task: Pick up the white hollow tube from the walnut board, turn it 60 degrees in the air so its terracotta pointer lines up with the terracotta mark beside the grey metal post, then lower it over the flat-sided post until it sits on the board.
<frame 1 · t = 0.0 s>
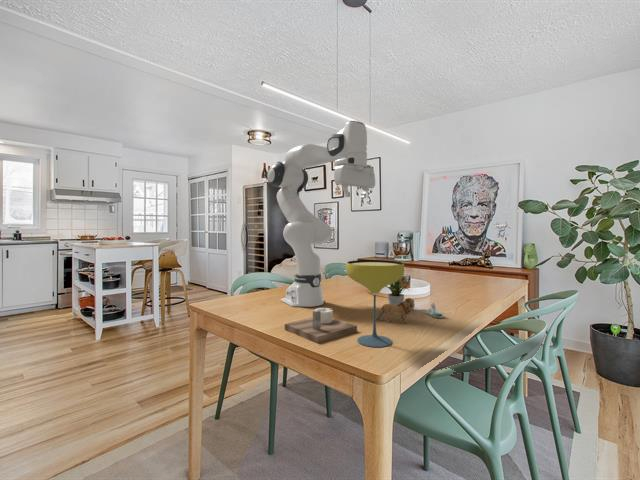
hand: (355, 197, 131), 48 cm above the table, tool pointing down, fingers open, 8 cm apart
cocktail glass: (374, 341, 104), on the table
house plant: (397, 309, 145), on the table
board: (320, 330, 115), on the table
pacifier: (436, 317, 133), on the table
lion figurine: (396, 321, 127), on the table
white hollow tube: (323, 320, 120), point 2 cm above the table, touching board
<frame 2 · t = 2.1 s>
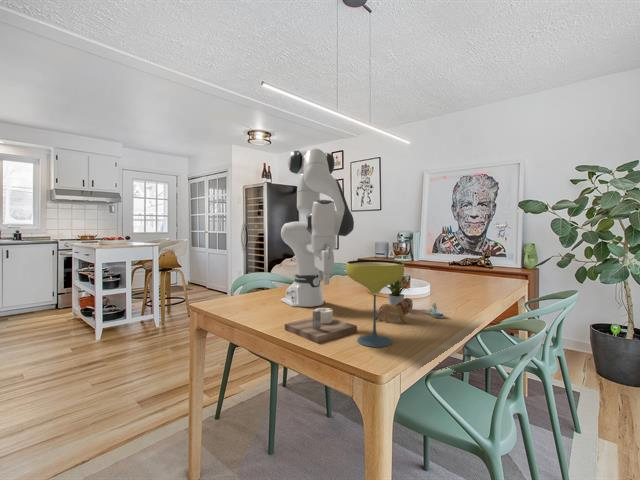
hand: (323, 282, 119), 16 cm above the table, tool pointing down, fingers open, 8 cm apart
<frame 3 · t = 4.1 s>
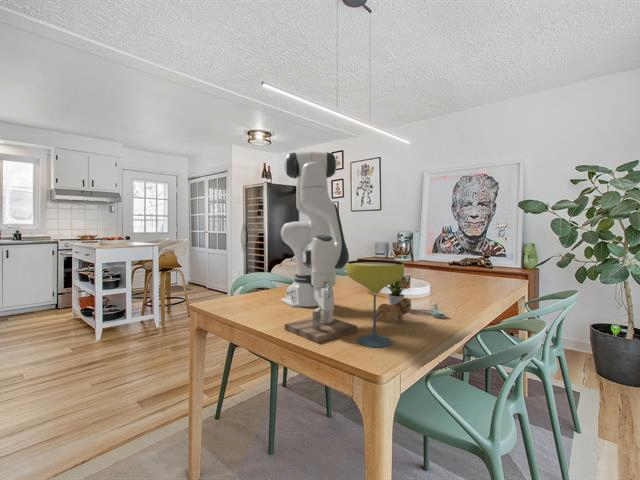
hand: (323, 317, 120), 3 cm above the table, tool pointing down, fingers closed on white hollow tube, 6 cm apart
white hollow tube: (323, 320, 120), point 2 cm above the table, touching board, gripper
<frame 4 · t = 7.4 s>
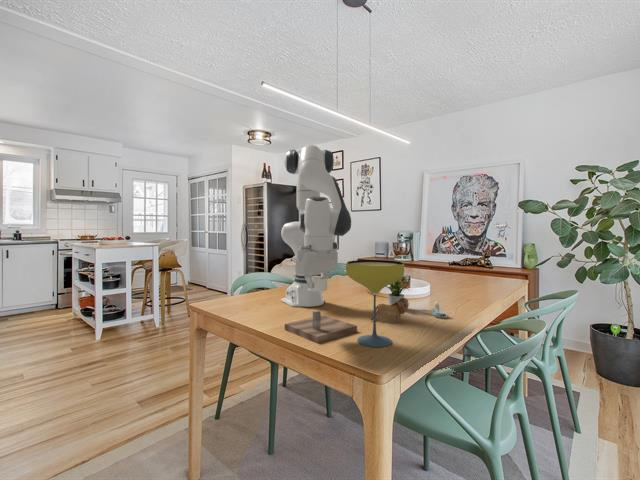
hand: (317, 286, 110), 16 cm above the table, tool pointing down, fingers closed on white hollow tube, 6 cm apart
white hollow tube: (317, 289, 110), point 15 cm above the table, touching gripper
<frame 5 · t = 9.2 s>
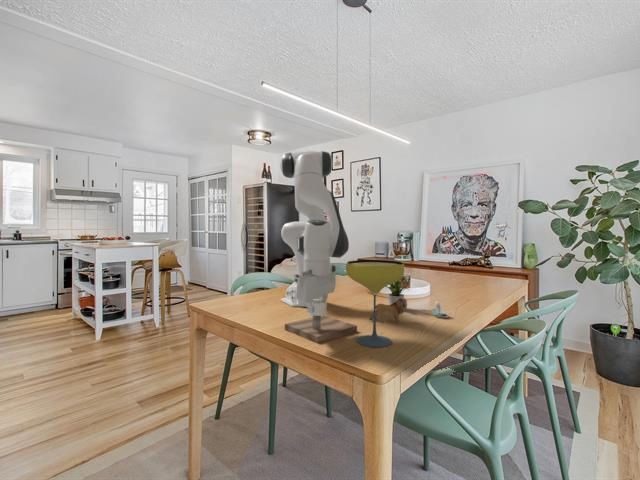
hand: (316, 309, 110), 8 cm above the table, tool pointing down, fingers closed on white hollow tube, 6 cm apart
white hollow tube: (316, 313, 110), point 7 cm above the table, touching gripper
when the fingers open (5 cm above the table, at t = 10.9 s): white hollow tube drops 1 cm, resting on board.
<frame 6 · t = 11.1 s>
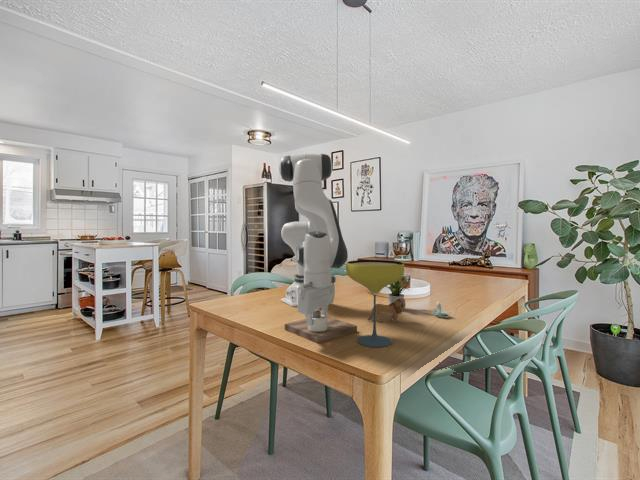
hand: (317, 321, 110), 5 cm above the table, tool pointing down, fingers open, 8 cm apart
white hollow tube: (317, 328, 110), point 2 cm above the table, touching board
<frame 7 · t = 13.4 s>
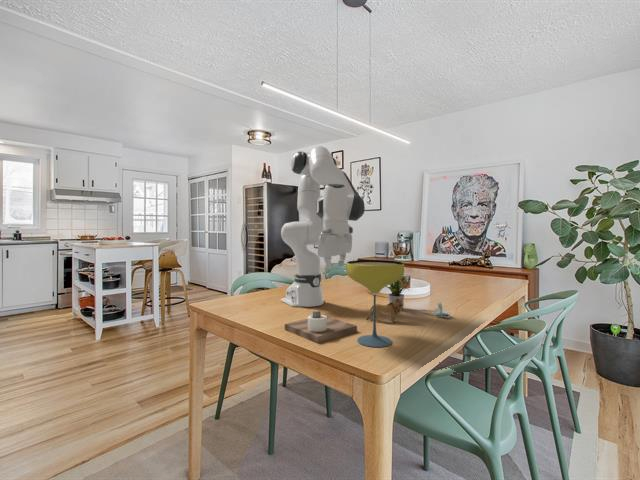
hand: (335, 267, 118), 22 cm above the table, tool pointing down, fingers open, 8 cm apart
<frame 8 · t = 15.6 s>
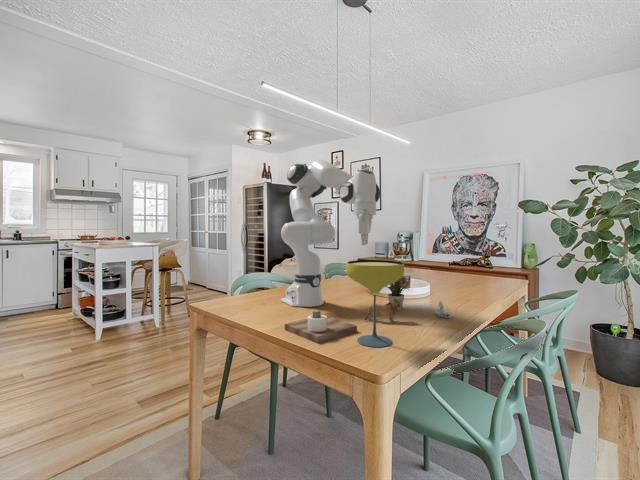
hand: (364, 244, 133), 29 cm above the table, tool pointing down, fingers open, 8 cm apart
at the end: white hollow tube 0.1 cm from the target spot on the board, point 2.1 cm above the board's base; the gripper is holding nothing; white hollow tube tilted 1° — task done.
